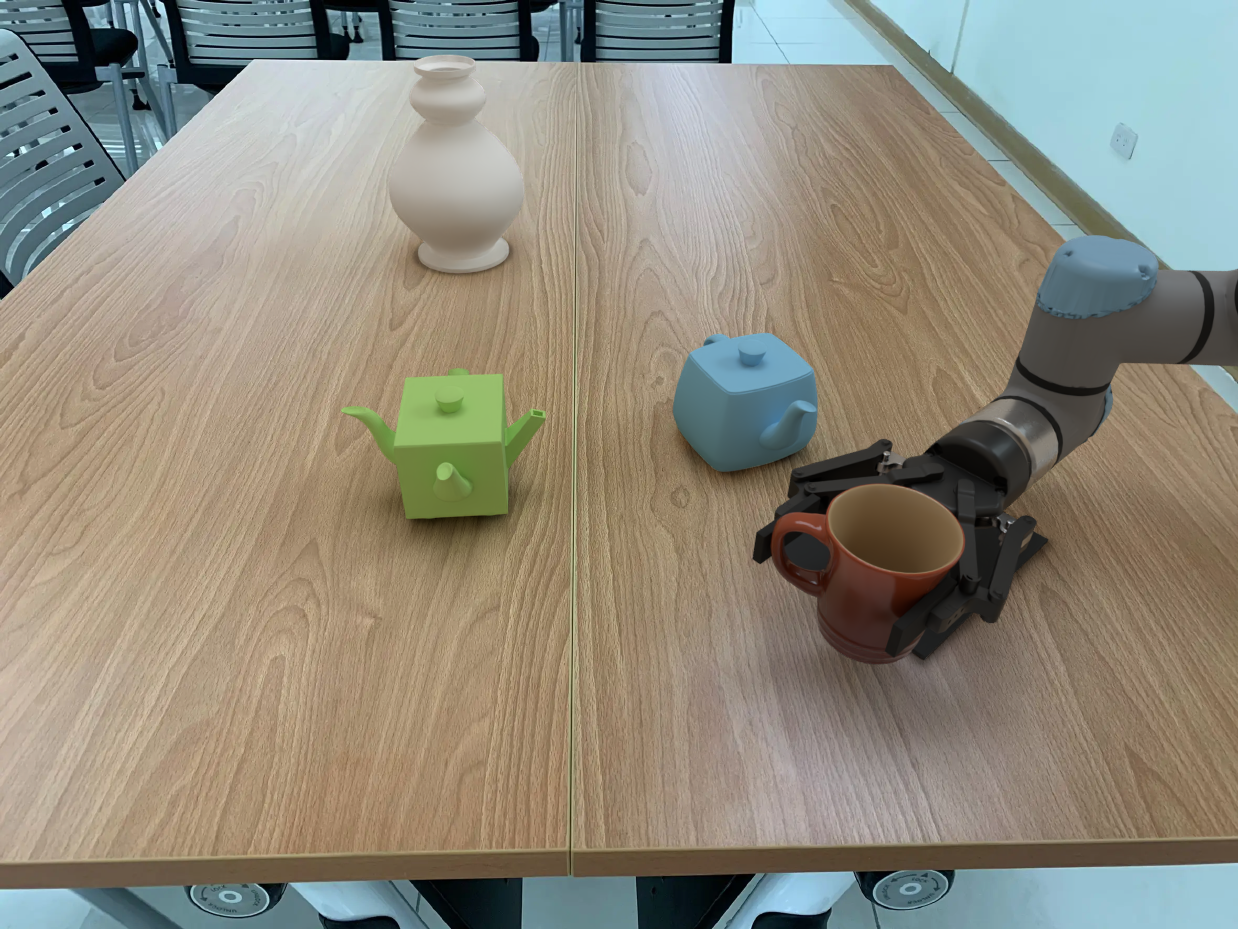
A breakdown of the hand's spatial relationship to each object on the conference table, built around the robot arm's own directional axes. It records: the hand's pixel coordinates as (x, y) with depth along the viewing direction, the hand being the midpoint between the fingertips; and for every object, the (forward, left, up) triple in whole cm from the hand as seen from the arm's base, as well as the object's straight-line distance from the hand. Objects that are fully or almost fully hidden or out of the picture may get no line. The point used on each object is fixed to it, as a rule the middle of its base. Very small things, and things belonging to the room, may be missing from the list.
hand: (822, 592), depth 61 cm
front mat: (+3, -19, -10) cm, 22 cm away
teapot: (+22, -19, -10) cm, 31 cm away
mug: (0, -4, -7) cm, 8 cm away
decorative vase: (+78, -23, -10) cm, 82 cm away
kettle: (+36, +7, -10) cm, 38 cm away
